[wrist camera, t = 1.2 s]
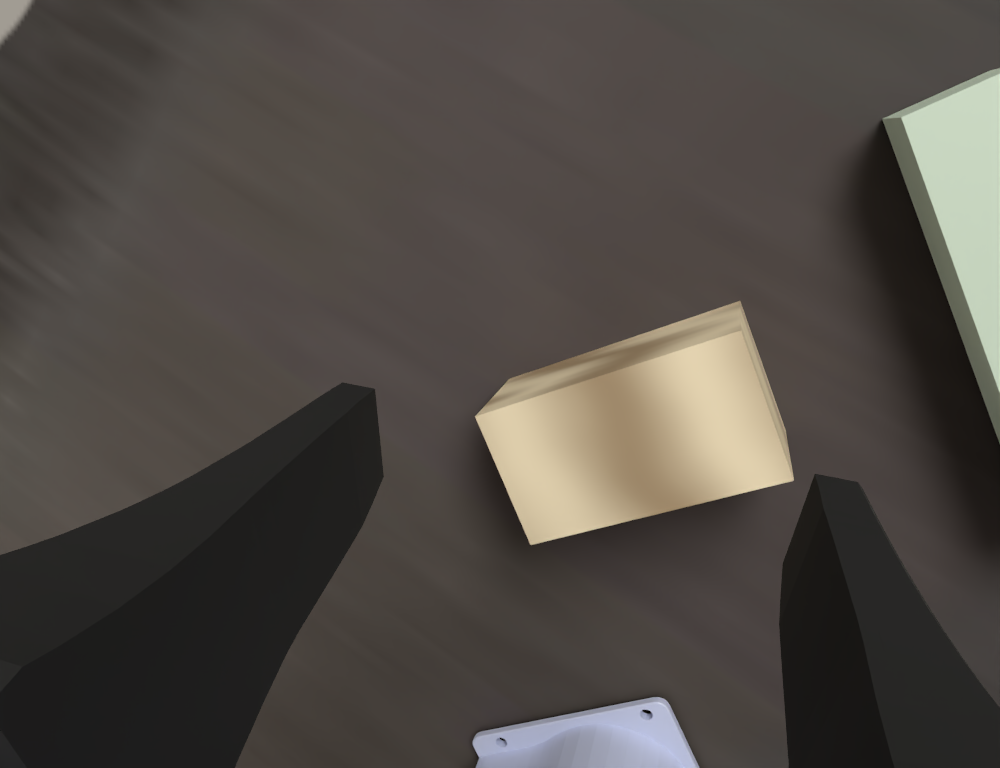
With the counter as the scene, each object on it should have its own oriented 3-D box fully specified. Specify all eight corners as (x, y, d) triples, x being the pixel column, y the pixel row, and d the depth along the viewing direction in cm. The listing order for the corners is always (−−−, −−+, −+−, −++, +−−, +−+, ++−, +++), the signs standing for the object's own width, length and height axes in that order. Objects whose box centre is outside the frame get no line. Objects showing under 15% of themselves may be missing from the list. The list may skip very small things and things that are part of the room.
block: (557, 490, 31) (530, 545, 27) (510, 377, 30) (475, 416, 26) (785, 428, 28) (794, 480, 24) (740, 299, 27) (740, 330, 23)
